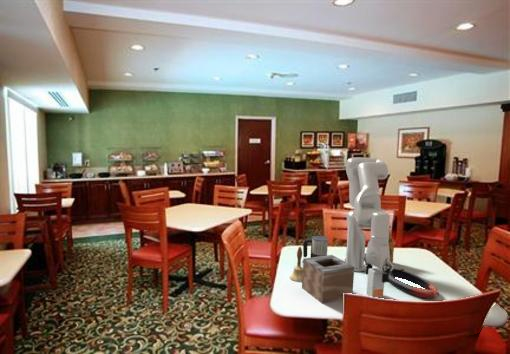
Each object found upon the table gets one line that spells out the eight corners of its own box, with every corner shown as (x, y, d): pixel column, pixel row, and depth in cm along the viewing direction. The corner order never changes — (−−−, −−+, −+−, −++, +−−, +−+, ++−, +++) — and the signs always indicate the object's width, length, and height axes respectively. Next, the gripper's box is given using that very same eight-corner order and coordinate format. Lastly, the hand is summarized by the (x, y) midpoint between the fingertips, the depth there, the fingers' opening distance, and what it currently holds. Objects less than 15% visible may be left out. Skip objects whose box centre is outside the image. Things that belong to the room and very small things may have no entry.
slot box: (301, 287, 155) (303, 258, 154) (330, 282, 162) (331, 254, 160) (322, 303, 141) (323, 271, 139) (352, 297, 147) (354, 266, 146)
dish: (398, 273, 177) (399, 264, 176) (448, 300, 148) (449, 289, 147) (374, 276, 172) (374, 267, 171) (420, 305, 143) (422, 293, 142)
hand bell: (309, 277, 168) (310, 246, 166) (302, 283, 160) (304, 251, 159) (293, 273, 172) (295, 243, 170) (286, 279, 165) (288, 247, 163)
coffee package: (395, 265, 189) (398, 226, 186) (379, 268, 183) (382, 228, 181) (382, 259, 198) (385, 222, 195) (366, 261, 192) (369, 224, 190)
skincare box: (371, 298, 147) (373, 272, 146) (366, 293, 151) (367, 268, 150) (383, 296, 149) (385, 271, 147) (377, 292, 153) (379, 267, 152)
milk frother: (326, 261, 191) (327, 236, 189) (329, 272, 175) (331, 244, 174) (301, 259, 192) (302, 234, 191) (302, 270, 177) (303, 242, 175)
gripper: (358, 235, 153) (356, 272, 155) (387, 246, 138) (385, 286, 139) (371, 234, 156) (369, 270, 158) (401, 244, 141) (398, 284, 142)
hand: (376, 278), depth 148 cm, fingers open, 9 cm apart
